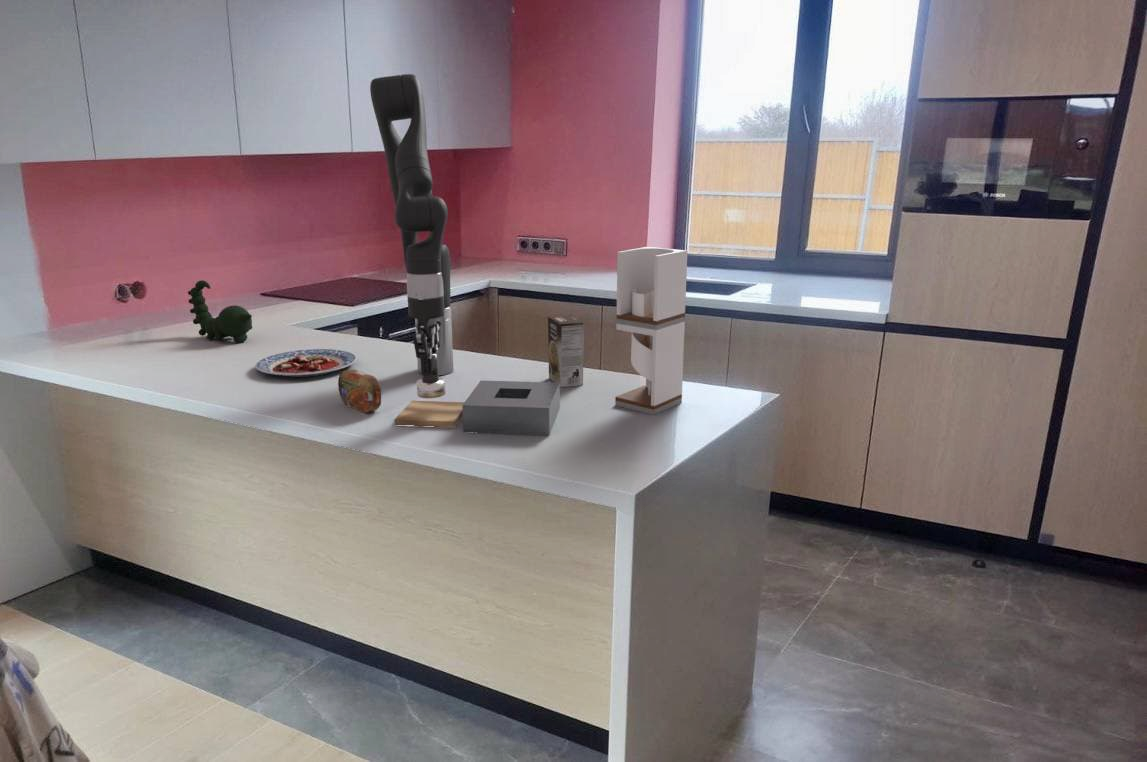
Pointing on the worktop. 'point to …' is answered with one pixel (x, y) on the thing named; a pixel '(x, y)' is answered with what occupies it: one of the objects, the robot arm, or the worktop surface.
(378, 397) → the tin
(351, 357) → the ceramic plate
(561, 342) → the coffee box
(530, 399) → the housing
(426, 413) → the oak pad
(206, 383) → the worktop surface
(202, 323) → the toy figurine
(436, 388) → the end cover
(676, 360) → the white shelf stand
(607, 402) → the worktop surface
